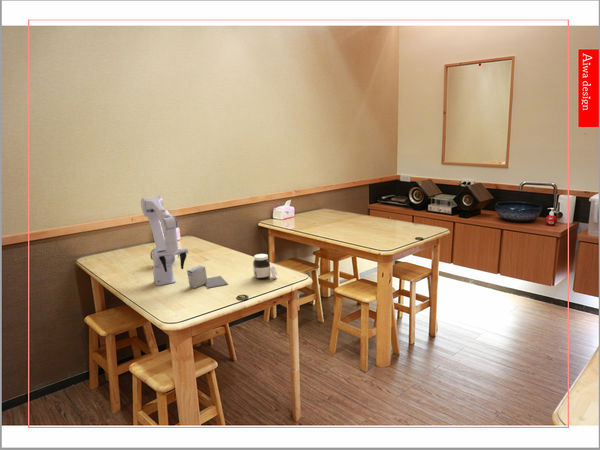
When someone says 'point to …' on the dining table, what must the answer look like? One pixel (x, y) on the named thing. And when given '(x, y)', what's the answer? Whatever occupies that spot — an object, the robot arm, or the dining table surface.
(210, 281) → the mat
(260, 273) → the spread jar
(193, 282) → the medicine box
